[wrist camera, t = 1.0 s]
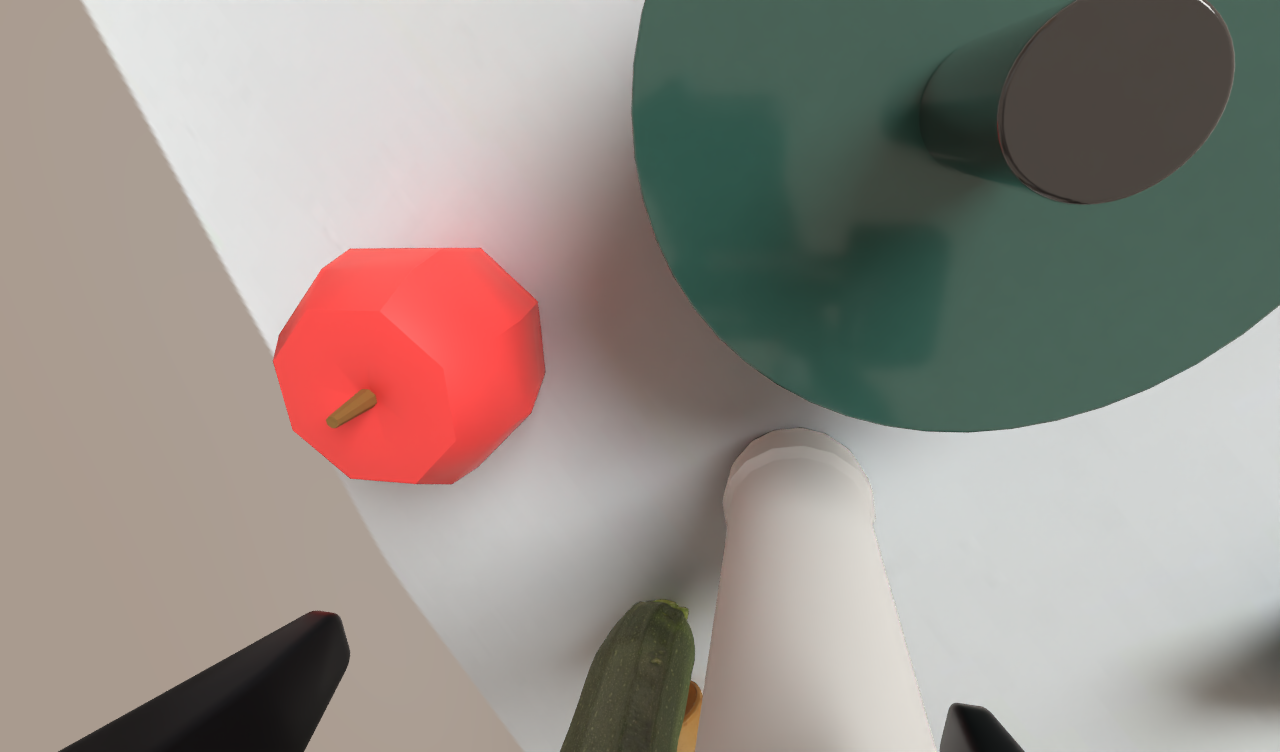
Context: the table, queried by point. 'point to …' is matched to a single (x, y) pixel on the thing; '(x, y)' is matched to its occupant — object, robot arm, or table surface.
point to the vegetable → (637, 684)
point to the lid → (964, 194)
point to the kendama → (690, 720)
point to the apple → (410, 362)
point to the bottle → (806, 612)
